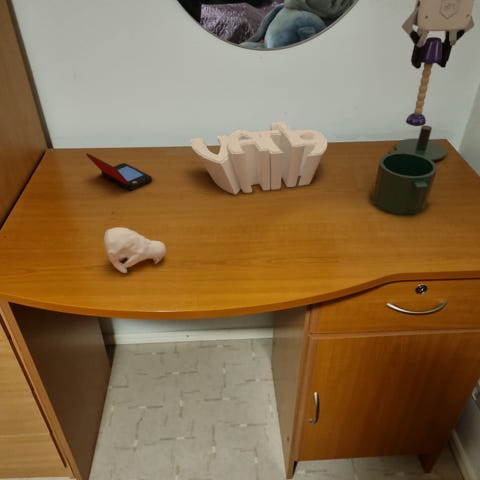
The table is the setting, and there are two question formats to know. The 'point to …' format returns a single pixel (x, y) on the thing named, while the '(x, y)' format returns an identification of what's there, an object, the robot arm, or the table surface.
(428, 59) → the toy lamp
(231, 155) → the wavy white extrusion
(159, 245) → the beige lumpy figure
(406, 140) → the lid
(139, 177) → the handheld console
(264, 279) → the table surface
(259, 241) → the table surface
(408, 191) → the pot
